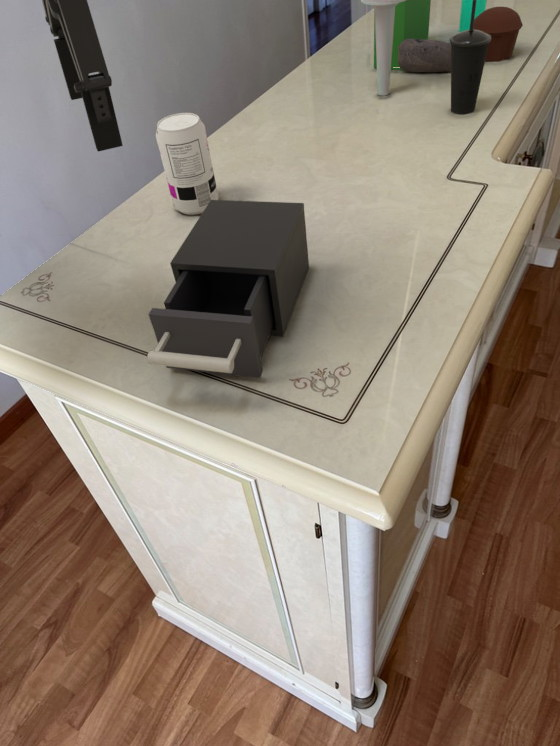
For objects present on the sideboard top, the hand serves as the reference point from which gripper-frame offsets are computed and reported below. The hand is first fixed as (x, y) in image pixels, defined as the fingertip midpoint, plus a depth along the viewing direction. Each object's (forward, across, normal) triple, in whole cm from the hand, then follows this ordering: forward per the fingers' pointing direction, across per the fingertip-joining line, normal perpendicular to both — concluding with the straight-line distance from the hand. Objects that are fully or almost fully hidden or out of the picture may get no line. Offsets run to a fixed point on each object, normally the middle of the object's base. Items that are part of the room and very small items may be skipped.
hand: (95, 120), depth 67 cm
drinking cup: (+26, +27, -77) cm, 86 cm away
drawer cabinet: (+26, -8, -14) cm, 31 cm away
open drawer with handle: (+24, -17, -7) cm, 31 cm away
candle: (+29, +62, -106) cm, 126 cm away
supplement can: (+29, +22, -16) cm, 40 cm away
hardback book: (+30, +63, -85) cm, 110 cm away
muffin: (+28, +48, -102) cm, 116 cm away
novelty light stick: (+29, +45, -69) cm, 87 cm away
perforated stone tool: (+28, +50, -85) cm, 102 cm away
